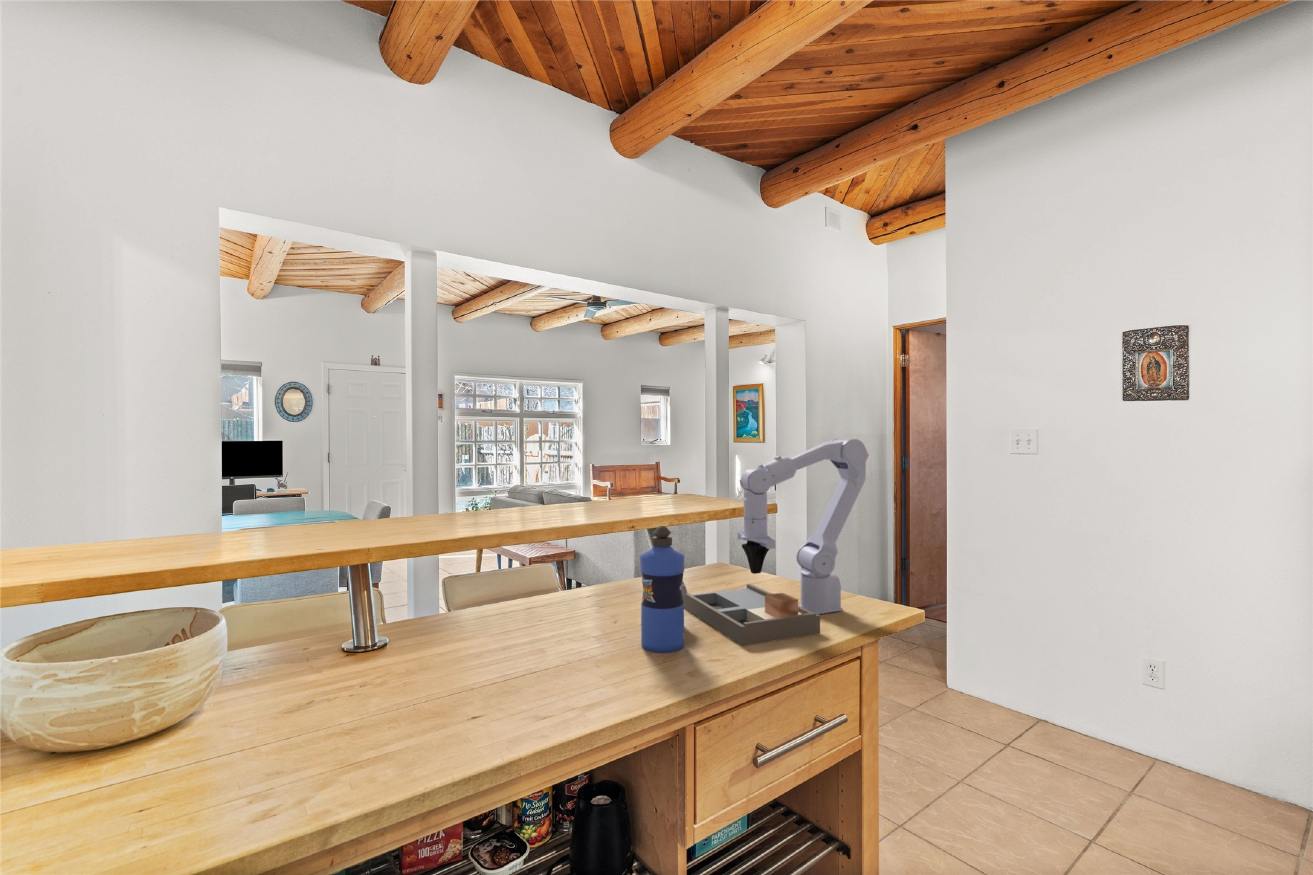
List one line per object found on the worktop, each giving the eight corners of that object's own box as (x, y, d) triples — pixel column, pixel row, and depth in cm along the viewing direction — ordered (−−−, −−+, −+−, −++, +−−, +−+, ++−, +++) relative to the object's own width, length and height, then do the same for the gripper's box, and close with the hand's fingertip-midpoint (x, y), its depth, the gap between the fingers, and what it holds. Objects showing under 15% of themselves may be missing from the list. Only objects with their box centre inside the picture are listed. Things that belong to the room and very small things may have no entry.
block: (783, 609, 142) (783, 592, 142) (798, 616, 136) (798, 599, 136) (764, 612, 140) (764, 595, 140) (779, 619, 135) (779, 601, 134)
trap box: (750, 598, 162) (749, 581, 162) (820, 633, 134) (820, 613, 134) (682, 607, 155) (682, 589, 154) (741, 645, 127) (741, 624, 127)
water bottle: (650, 655, 122) (649, 532, 121) (634, 640, 130) (633, 525, 130) (692, 649, 125) (691, 528, 125) (674, 635, 134) (673, 522, 133)
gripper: (726, 515, 154) (727, 568, 154) (757, 523, 140) (757, 581, 141) (750, 513, 156) (751, 565, 157) (782, 521, 143) (783, 578, 143)
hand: (755, 572), depth 149 cm, fingers closed
